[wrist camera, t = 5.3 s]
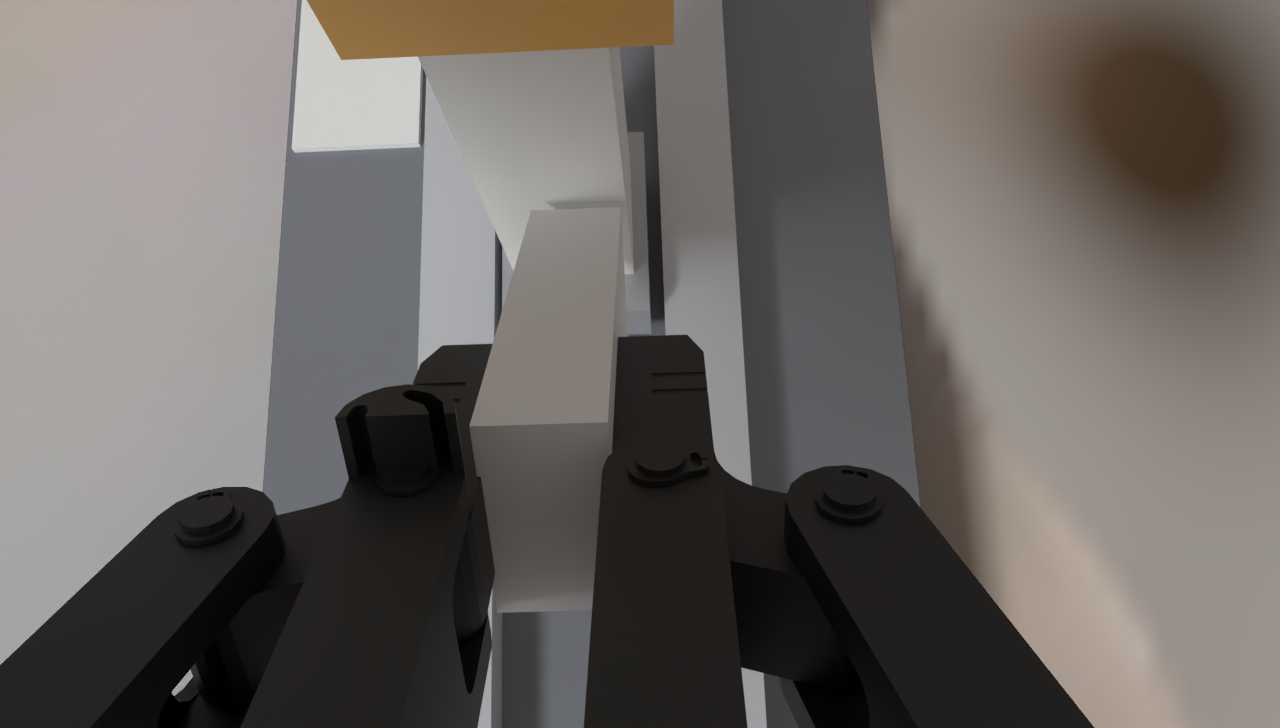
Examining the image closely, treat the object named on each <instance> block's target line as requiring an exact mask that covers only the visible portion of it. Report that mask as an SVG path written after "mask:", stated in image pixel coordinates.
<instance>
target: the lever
mask: <svg viewBox="0 0 1280 728" xmlns="http://www.w3.org/2000/svg"><path fill="white" fill-rule="evenodd" d="M307 2H308V4H309V5H310V7H311V9H312V11H313V12H314V14H315V16H316V17H317V19H318V21H319V23H320V24H321V26H322V28H323V29H324V31H325V33H326V35H327V36H328V38H329V40H330V41H331V43H332V45H333V47H334V48H335V50H336V52H337V53H338V55H339V57H340V59H341V60H354V59H376V58H397V57H418V58H419V60H420V63H421V65H422V67H423V69H424V72H425V74H426V76H427V78H428V81H429V83H430V85H431V87H432V90H433V92H434V94H435V96H436V99H437V101H438V103H439V105H440V108H441V110H442V112H443V114H444V116H445V119H446V121H447V123H448V125H449V128H450V130H451V132H452V134H453V137H454V139H455V141H456V143H457V146H458V148H459V150H460V152H461V155H462V157H463V159H464V161H465V164H466V166H467V168H468V170H469V173H470V175H471V177H472V179H473V181H474V184H475V186H476V188H477V190H478V193H479V195H480V197H481V199H482V202H483V204H484V206H485V208H486V211H487V213H488V215H489V217H490V220H491V222H492V224H493V226H494V229H495V231H496V233H497V235H498V238H499V240H500V242H501V244H502V310H503V307H504V303H505V300H506V296H507V293H508V289H509V286H510V282H511V279H512V275H513V271H514V268H515V264H516V261H517V257H518V254H519V250H520V247H521V243H522V240H523V236H524V233H525V229H526V226H527V222H528V219H529V215H530V212H531V210H554V209H581V208H609V207H621V216H622V235H623V254H624V273H625V291H626V310H627V329H628V335H629V334H652V329H651V302H650V274H649V247H648V219H647V192H646V165H645V148H644V132H629V133H627V123H626V113H625V102H624V91H623V80H622V69H621V59H620V48H619V47H632V46H653V45H674V0H307Z"/></svg>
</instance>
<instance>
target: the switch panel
mask: <svg viewBox="0 0 1280 728" xmlns="http://www.w3.org/2000/svg"><path fill="white" fill-rule="evenodd" d="M619 48H620V59H621V69H622V80H623V91H624V102H625V113H626V123H627V133H629V132H644V148H645V165H646V192H647V219H648V247H649V274H650V302H651V329H652V334H629V335H628V337H629V336H659V335H688V336H689V337H690V338H691V339H692V340H693V341H694V342H695V343H696V344H697V345H698V346H699V347H700V348H701V349H702V350H703V352H704V361H705V370H706V379H707V391H708V398H709V408H710V417H711V426H712V436H713V445H714V452H715V455H716V458H717V461H718V462H719V464H720V465H721V466H722V467H723V469H724V470H725V471H726V472H728V473H729V474H730V475H732V476H733V477H735V478H736V479H738V480H740V481H742V482H745V483H747V484H749V485H751V486H755V487H759V488H763V489H766V490H771V491H777V492H782V493H788V490H789V487H790V485H791V483H792V482H794V481H795V480H796V479H797V478H799V477H800V476H801V475H802V474H804V473H805V472H809V471H812V470H815V469H818V468H821V467H824V466H840V465H850V466H856V467H862V468H867V469H872V470H874V471H877V472H879V473H881V474H884V475H886V476H888V477H891V478H892V479H894V480H895V481H896V482H897V483H898V484H899V485H901V486H902V487H903V488H904V489H905V490H906V491H907V492H908V493H909V494H910V495H911V497H912V498H913V499H914V500H915V502H916V503H917V504H918V506H919V507H920V498H919V488H918V479H917V470H916V460H915V451H914V442H913V432H912V423H911V413H910V404H909V395H908V385H907V376H906V367H905V357H904V348H903V339H902V329H901V320H900V310H899V301H898V292H897V282H896V273H895V264H894V254H893V245H892V236H891V226H890V217H889V208H888V198H887V189H886V179H885V170H884V161H883V151H882V142H881V133H880V123H879V114H878V105H877V95H876V86H875V76H874V67H873V58H872V48H871V39H870V30H869V20H868V11H867V2H866V0H674V45H653V46H632V47H619ZM501 314H502V244H501V242H500V240H499V238H498V235H497V233H496V231H495V229H494V226H493V224H492V222H491V220H490V217H489V215H488V213H487V211H486V208H485V206H484V204H483V202H482V199H481V197H480V195H479V193H478V190H477V188H476V186H475V184H474V181H473V179H472V177H471V175H470V173H469V170H468V168H467V166H466V164H465V161H464V159H463V157H462V155H461V152H460V150H459V148H458V146H457V143H456V141H455V139H454V137H453V134H452V132H451V130H450V128H449V125H448V123H447V121H446V119H445V116H444V114H443V112H442V110H441V108H440V105H439V103H438V101H437V99H436V96H435V94H434V92H433V90H432V87H431V85H430V83H429V81H428V78H427V76H426V74H425V72H424V69H423V67H422V65H421V63H420V60H419V58H418V57H397V58H376V59H354V60H341V59H340V57H339V55H338V53H337V52H336V50H335V48H334V47H333V45H332V43H331V41H330V40H329V38H328V36H327V35H326V33H325V31H324V29H323V28H322V26H321V24H320V23H319V21H318V19H317V17H316V16H315V14H314V12H313V11H312V9H311V7H310V5H309V4H308V2H307V0H297V10H296V24H295V38H294V52H293V67H292V81H291V95H290V110H289V124H288V138H287V152H286V167H285V181H284V195H283V209H282V224H281V238H280V252H279V267H278V281H277V295H276V309H275V324H274V338H273V352H272V366H271V381H270V395H269V409H268V423H267V438H266V452H265V466H264V481H263V493H264V494H265V495H266V496H267V497H268V498H269V499H270V500H271V501H272V502H273V504H274V508H275V511H276V515H280V514H284V513H289V512H293V511H297V510H301V509H306V508H310V507H314V506H318V505H321V504H324V503H328V502H331V501H334V500H336V499H338V498H340V497H341V496H342V493H343V491H344V489H345V487H346V484H347V482H348V480H349V477H348V473H347V469H346V464H345V460H344V456H343V451H342V447H341V443H340V438H339V434H338V430H337V425H336V421H335V416H336V415H337V414H338V413H339V412H340V411H341V409H342V408H343V407H344V406H345V405H346V404H348V403H349V402H351V401H353V400H354V399H356V398H358V397H360V396H361V395H363V394H366V393H369V392H372V391H375V390H378V389H381V388H384V387H391V386H398V385H406V384H411V385H413V381H414V379H415V377H416V374H417V372H418V369H419V367H420V364H421V363H422V362H423V361H424V360H426V359H427V358H428V357H429V356H430V355H431V354H433V353H434V352H435V351H436V350H437V349H438V348H440V347H441V346H442V345H467V344H493V342H494V338H495V335H496V331H497V328H498V324H499V321H500V317H501ZM920 508H921V507H920ZM488 616H489V622H490V628H491V638H492V649H491V655H490V660H489V666H488V671H487V677H486V682H485V688H484V694H483V699H482V705H481V710H480V716H479V722H478V727H477V728H584V716H585V702H586V688H587V674H588V660H589V646H590V632H591V618H592V610H583V611H546V612H508V613H498V612H497V606H496V599H495V593H494V586H493V587H492V592H491V597H490V602H489V607H488ZM741 670H742V680H743V689H744V698H745V708H746V717H747V726H748V728H799V727H798V725H797V723H796V721H795V719H794V716H793V714H792V712H791V710H790V708H789V706H788V704H787V701H786V699H785V697H784V695H783V693H782V690H781V685H780V680H779V677H778V676H774V675H769V674H765V673H761V672H757V671H753V670H749V669H745V668H741Z"/></svg>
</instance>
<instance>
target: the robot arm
mask: <svg viewBox="0 0 1280 728" xmlns="http://www.w3.org/2000/svg"><path fill="white" fill-rule="evenodd" d="M335 421H336V425H337V430H338V434H339V438H340V443H341V447H342V451H343V456H344V460H345V464H346V469H347V473H348V477H349V480H348V482H347V484H346V487H345V489H344V491H343V493H342V496H341V497H340V498H338V499H336V500H334V501H331V502H328V503H324V504H321V505H318V506H314V507H310V508H306V509H301V510H297V511H293V512H289V513H284V514H280V515H276V511H275V508H274V504H273V502H272V501H271V500H270V499H269V498H268V497H267V496H266V495H265V494H264V493H263V492H261V491H258V490H254V489H251V488H248V487H222V488H217V489H213V490H207V491H203V492H199V493H197V494H195V495H193V496H190V497H188V498H186V499H183V500H181V501H179V502H177V503H175V504H174V505H172V506H171V507H169V508H168V509H167V510H165V511H164V512H163V513H161V514H160V515H158V516H157V517H156V518H155V519H154V520H153V521H152V522H151V523H150V524H149V525H148V526H147V527H146V528H144V529H143V530H142V531H141V532H140V533H139V534H138V535H137V536H136V537H135V538H134V539H133V540H132V541H131V542H130V543H129V544H128V545H127V546H125V547H124V548H123V549H122V550H121V551H120V552H119V553H118V554H117V555H116V556H115V557H114V558H113V559H112V560H111V561H110V562H109V563H108V564H106V565H105V566H104V567H103V568H102V569H101V570H100V571H99V572H98V573H97V574H96V575H95V576H94V577H93V578H92V579H91V580H90V581H89V582H87V583H86V584H85V585H84V586H83V587H82V588H81V589H80V590H79V591H78V592H77V593H76V594H75V595H74V596H73V597H72V598H71V599H70V600H68V601H67V602H66V603H65V604H64V605H63V606H62V607H61V608H60V609H59V610H58V611H57V612H56V613H55V614H54V615H53V616H52V617H51V618H49V619H48V620H47V621H46V622H45V623H44V624H43V625H42V626H41V627H40V628H39V629H38V630H37V631H36V632H35V633H34V634H33V635H32V636H30V637H29V638H28V639H27V640H26V641H25V642H24V643H23V644H22V645H21V646H20V647H19V648H18V649H17V650H16V651H15V652H14V653H13V654H11V655H10V656H9V657H8V658H7V659H6V660H5V661H4V662H3V663H2V664H1V665H0V728H477V727H478V722H479V716H480V710H481V705H482V699H483V694H484V688H485V682H486V677H487V671H488V666H489V660H490V655H491V649H492V638H491V628H490V622H489V616H488V607H489V602H490V597H491V592H492V587H493V586H494V593H495V599H496V606H497V612H498V613H508V612H546V611H583V610H592V618H591V632H590V646H589V660H588V674H587V688H586V702H585V716H584V728H748V726H747V717H746V708H745V698H744V689H743V680H742V670H741V668H745V669H749V670H753V671H757V672H761V673H765V674H769V675H774V676H778V677H779V680H780V685H781V690H782V693H783V695H784V697H785V699H786V701H787V704H788V706H789V708H790V710H791V712H792V714H793V716H794V719H795V721H796V723H797V725H798V727H799V728H1094V727H1093V726H1092V724H1091V723H1090V722H1089V720H1088V719H1087V718H1086V717H1085V715H1084V714H1083V713H1082V712H1081V710H1080V709H1079V708H1078V707H1077V705H1076V704H1075V703H1074V701H1073V700H1072V699H1071V698H1070V696H1069V695H1068V694H1067V693H1066V691H1065V690H1064V689H1063V688H1062V686H1061V685H1060V684H1059V683H1058V681H1057V680H1056V679H1055V677H1054V676H1053V675H1052V674H1051V672H1050V671H1049V670H1048V669H1047V667H1046V666H1045V665H1044V664H1043V662H1042V661H1041V660H1040V658H1039V657H1038V656H1037V655H1036V653H1035V652H1034V651H1033V650H1032V648H1031V647H1030V646H1029V645H1028V643H1027V642H1026V641H1025V640H1024V638H1023V637H1022V636H1021V634H1020V633H1019V632H1018V631H1017V629H1016V628H1015V627H1014V626H1013V624H1012V623H1011V622H1010V621H1009V619H1008V618H1007V617H1006V616H1005V614H1004V613H1003V612H1002V610H1001V609H1000V608H999V607H998V605H997V604H996V603H995V602H994V600H993V599H992V598H991V597H990V595H989V594H988V593H987V591H986V590H985V589H984V588H983V586H982V585H981V584H980V583H979V581H978V580H977V579H976V578H975V576H974V575H973V574H972V573H971V571H970V570H969V569H968V567H967V566H966V565H965V564H964V562H963V561H962V560H961V559H960V557H959V556H958V555H957V554H956V552H955V551H954V550H953V549H952V547H951V546H950V545H949V543H948V542H947V541H946V540H945V538H944V537H943V536H942V535H941V533H940V532H939V531H938V530H937V528H936V527H935V526H934V524H933V523H932V522H931V521H930V519H929V518H928V517H927V516H926V514H925V513H924V512H923V511H922V509H921V508H920V507H919V506H918V504H917V503H916V502H915V500H914V499H913V498H912V497H911V495H910V494H909V493H908V492H907V491H906V490H905V489H904V488H903V487H902V486H901V485H899V484H898V483H897V482H896V481H895V480H894V479H892V478H891V477H888V476H886V475H884V474H881V473H879V472H877V471H874V470H872V469H867V468H862V467H856V466H850V465H840V466H824V467H821V468H818V469H815V470H812V471H809V472H805V473H804V474H802V475H801V476H800V477H799V478H797V479H796V480H795V481H794V482H792V483H791V485H790V487H789V490H788V493H782V492H777V491H771V490H766V489H763V488H759V487H755V486H751V485H749V484H747V483H745V482H742V481H740V480H738V479H736V478H735V477H733V476H732V475H730V474H729V473H728V472H726V471H725V470H724V469H723V467H722V466H721V465H720V464H719V462H718V461H717V458H716V455H715V452H714V445H713V436H712V426H711V417H710V408H709V398H708V391H707V379H706V370H705V361H704V352H703V350H702V349H701V348H700V347H699V346H698V345H697V344H696V343H695V342H694V341H693V340H692V339H691V338H690V337H689V336H688V335H659V336H629V337H628V329H627V310H626V291H625V273H624V254H623V235H622V216H621V207H609V208H581V209H554V210H531V212H530V215H529V219H528V222H527V226H526V229H525V233H524V236H523V240H522V243H521V247H520V250H519V254H518V257H517V261H516V264H515V268H514V271H513V275H512V279H511V282H510V286H509V289H508V293H507V296H506V300H505V303H504V307H503V310H502V314H501V317H500V321H499V324H498V328H497V331H496V335H495V338H494V342H493V344H467V345H442V346H441V347H440V348H438V349H437V350H436V351H435V352H434V353H433V354H431V355H430V356H429V357H428V358H427V359H426V360H424V361H423V362H422V363H421V364H420V367H419V369H418V372H417V374H416V377H415V379H414V381H413V385H411V384H406V385H398V386H391V387H384V388H381V389H378V390H375V391H372V392H369V393H366V394H363V395H361V396H360V397H358V398H356V399H354V400H353V401H351V402H349V403H348V404H346V405H345V406H344V407H343V408H342V409H341V411H340V412H339V413H338V414H337V415H336V416H335ZM190 669H191V672H192V674H193V678H192V679H191V680H190V681H189V683H188V684H187V685H186V686H185V688H184V689H183V690H181V691H180V692H179V693H178V694H177V695H175V696H173V695H172V693H171V692H172V690H173V689H174V688H175V687H176V686H177V684H178V683H179V682H180V681H181V680H182V678H183V677H184V676H185V675H186V674H187V672H188V671H189V670H190Z"/></svg>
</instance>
